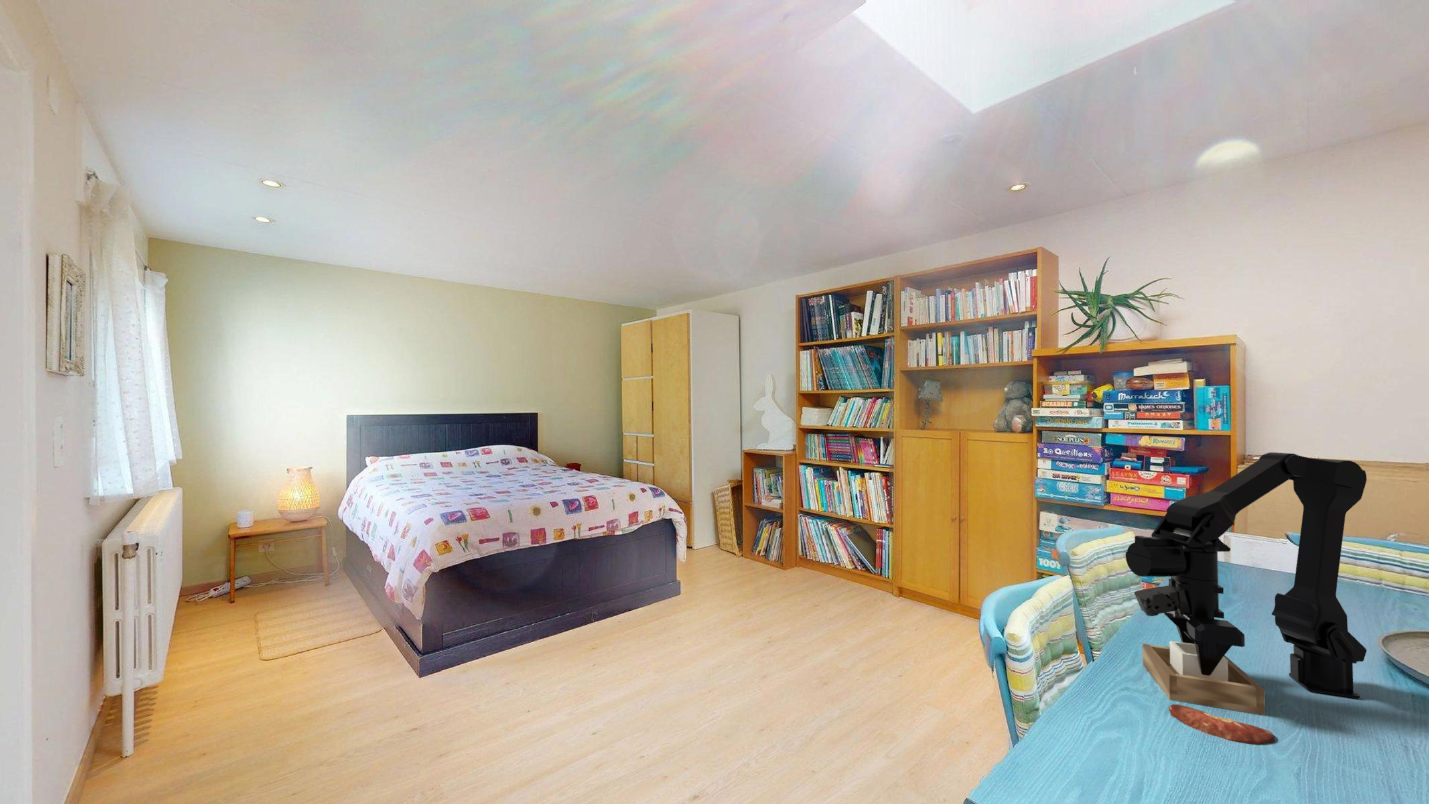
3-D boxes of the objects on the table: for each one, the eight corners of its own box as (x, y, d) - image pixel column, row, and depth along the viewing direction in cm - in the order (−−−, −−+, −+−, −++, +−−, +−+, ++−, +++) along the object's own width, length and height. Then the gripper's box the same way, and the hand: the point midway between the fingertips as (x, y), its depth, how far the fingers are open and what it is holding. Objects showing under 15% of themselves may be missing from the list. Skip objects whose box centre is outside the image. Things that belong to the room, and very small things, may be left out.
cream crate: (1212, 669, 97) (1212, 646, 97) (1228, 684, 91) (1227, 659, 92) (1170, 663, 99) (1169, 640, 99) (1182, 677, 94) (1182, 653, 94)
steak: (1172, 694, 90) (1277, 724, 82) (1172, 705, 90) (1277, 737, 81) (1163, 711, 85) (1274, 746, 76) (1163, 722, 85) (1274, 759, 76)
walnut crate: (1224, 677, 99) (1224, 654, 99) (1265, 715, 86) (1264, 689, 87) (1142, 665, 104) (1142, 643, 104) (1169, 699, 91) (1169, 674, 91)
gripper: (1124, 558, 108) (1126, 639, 107) (1156, 585, 90) (1158, 681, 90) (1196, 565, 103) (1198, 649, 103) (1245, 594, 86) (1247, 695, 86)
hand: (1198, 667), depth 95 cm, fingers closed on cream crate, 6 cm apart
